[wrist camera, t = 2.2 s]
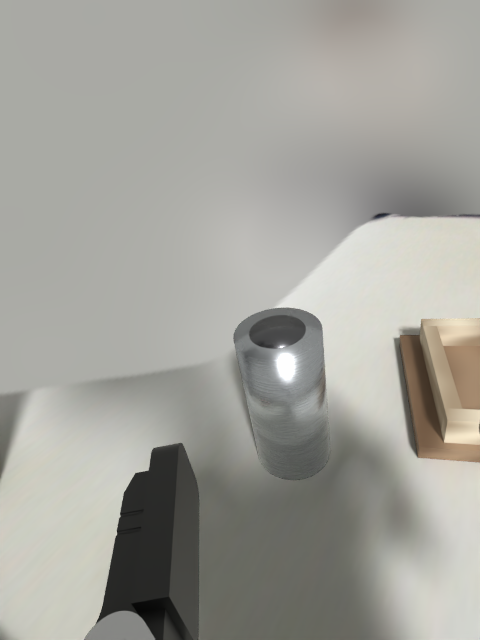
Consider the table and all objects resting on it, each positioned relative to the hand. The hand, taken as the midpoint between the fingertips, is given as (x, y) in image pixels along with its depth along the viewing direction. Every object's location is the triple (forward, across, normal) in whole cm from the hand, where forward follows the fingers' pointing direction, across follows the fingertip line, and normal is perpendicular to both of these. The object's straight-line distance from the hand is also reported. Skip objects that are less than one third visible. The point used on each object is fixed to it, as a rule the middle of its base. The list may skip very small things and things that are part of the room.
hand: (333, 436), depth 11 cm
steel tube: (+12, 0, +14) cm, 18 cm away
